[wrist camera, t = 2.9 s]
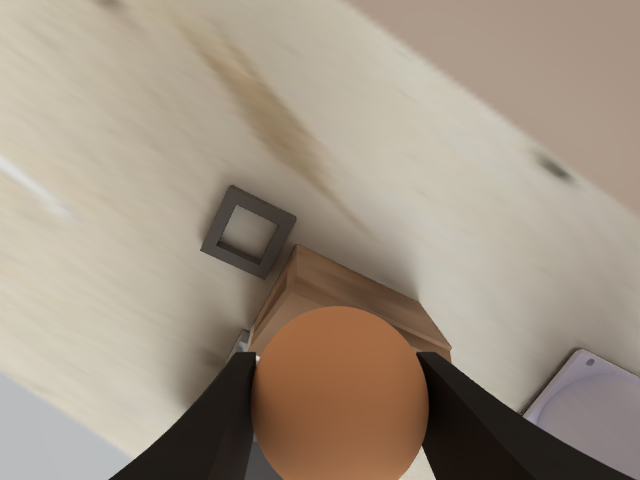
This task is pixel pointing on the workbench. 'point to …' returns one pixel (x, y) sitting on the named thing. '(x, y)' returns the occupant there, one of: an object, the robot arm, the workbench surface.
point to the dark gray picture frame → (237, 256)
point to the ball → (339, 398)
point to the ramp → (340, 303)
